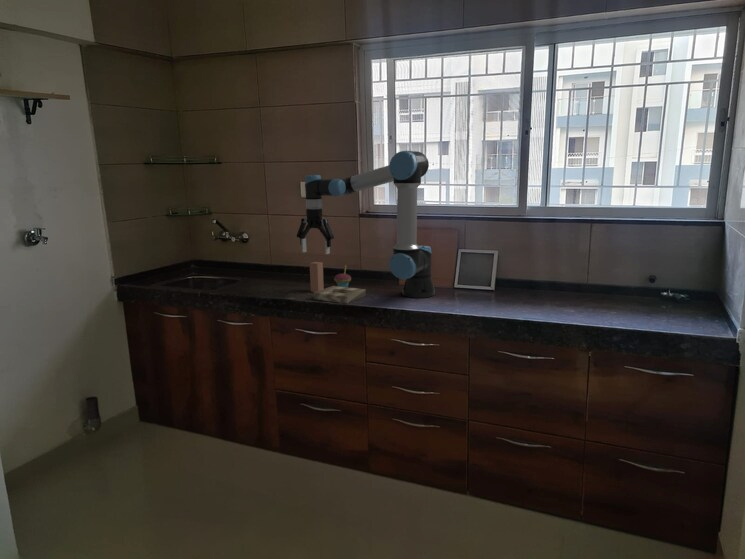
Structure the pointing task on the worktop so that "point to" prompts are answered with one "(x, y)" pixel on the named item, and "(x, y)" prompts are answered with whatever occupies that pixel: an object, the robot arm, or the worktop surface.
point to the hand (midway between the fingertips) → (315, 253)
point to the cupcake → (342, 279)
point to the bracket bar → (316, 276)
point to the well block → (339, 294)
